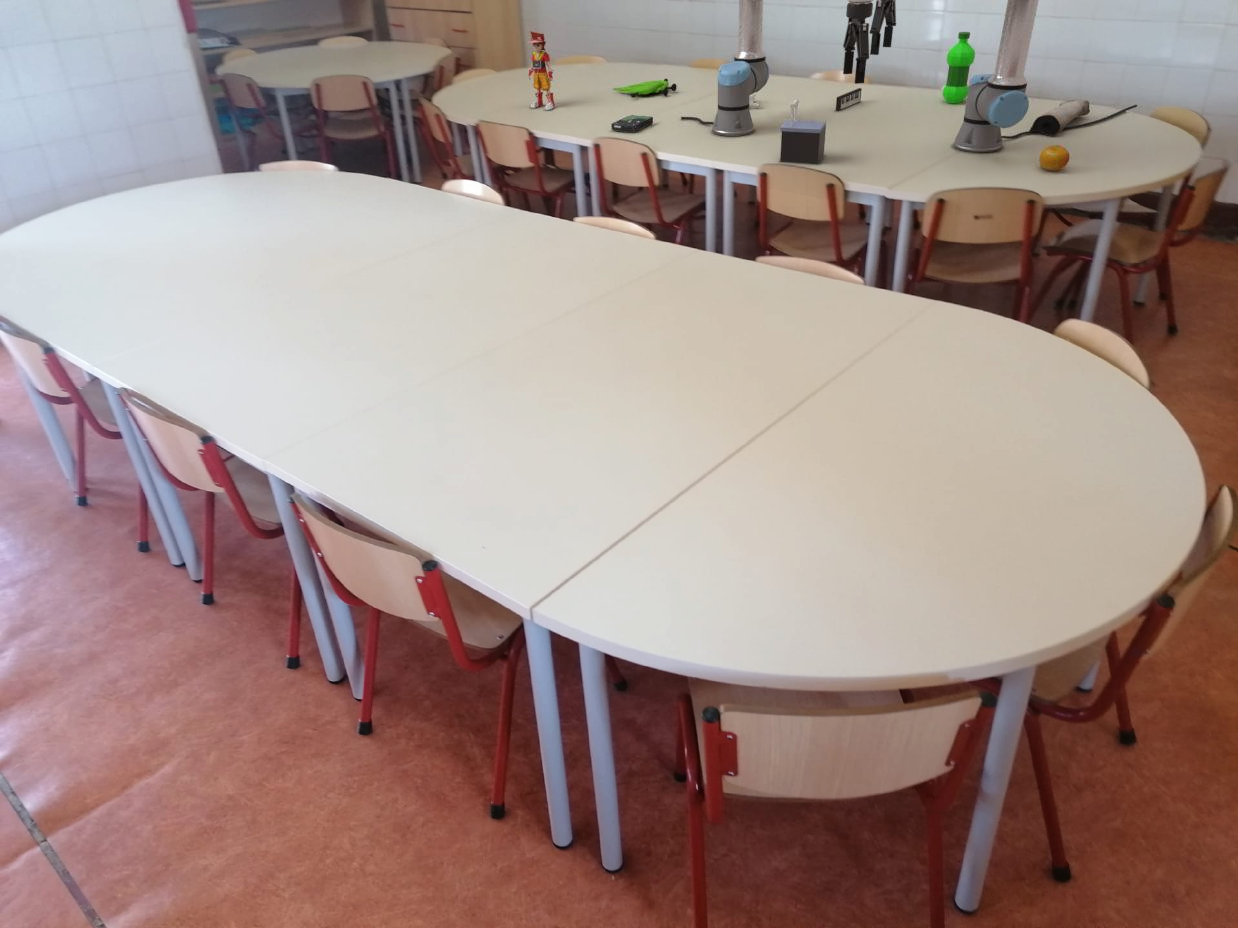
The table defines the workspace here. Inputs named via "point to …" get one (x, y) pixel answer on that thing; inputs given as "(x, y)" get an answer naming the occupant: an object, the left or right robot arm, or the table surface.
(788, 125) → the lid
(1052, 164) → the fruit
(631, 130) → the disk drive
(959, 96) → the plastic bottle
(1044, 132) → the rolled mat
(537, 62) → the toy
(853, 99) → the midi keyboard
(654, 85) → the toy
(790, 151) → the chest
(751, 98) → the anatomical model
